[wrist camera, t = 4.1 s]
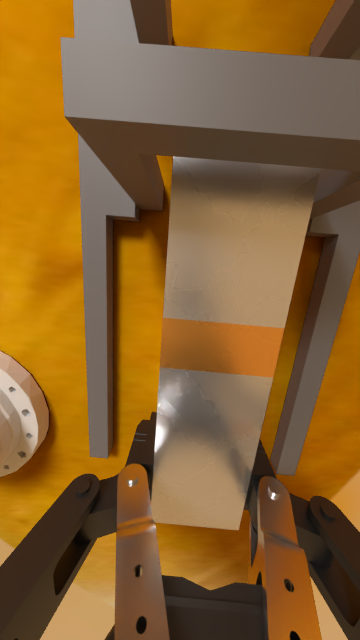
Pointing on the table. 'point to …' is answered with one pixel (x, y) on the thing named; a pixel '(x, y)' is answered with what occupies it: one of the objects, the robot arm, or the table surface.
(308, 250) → the table surface
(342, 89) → the collar frame
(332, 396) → the table surface
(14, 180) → the table surface
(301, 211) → the bar
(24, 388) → the mechanical component
